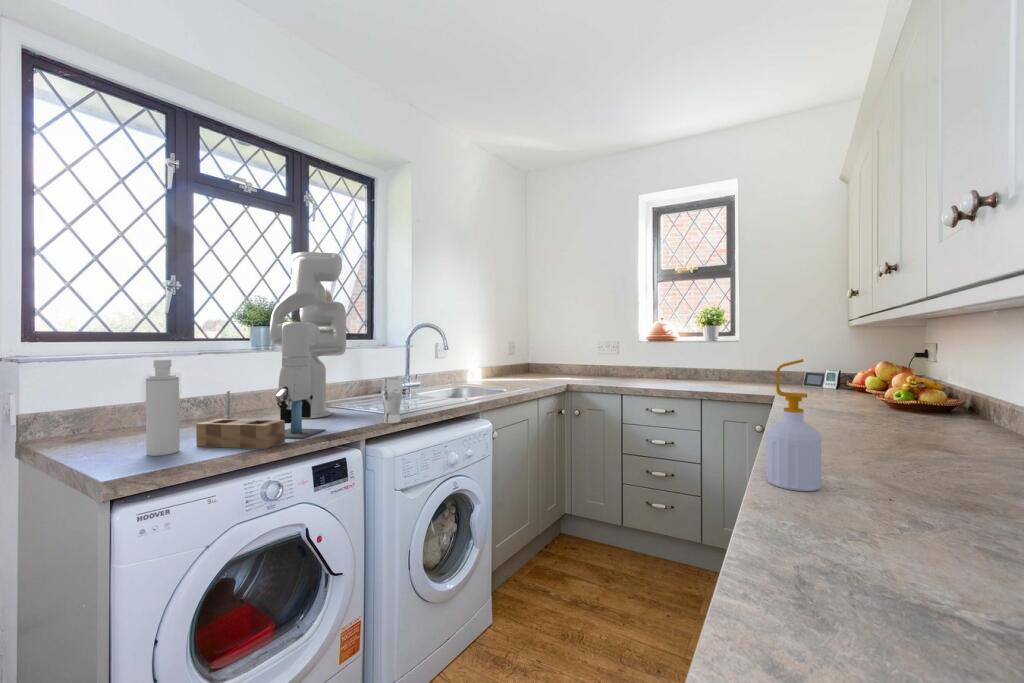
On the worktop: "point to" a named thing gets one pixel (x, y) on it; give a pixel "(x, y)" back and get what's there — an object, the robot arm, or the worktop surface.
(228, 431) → the hole block
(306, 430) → the mat
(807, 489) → the soap bottle
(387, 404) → the beer glass
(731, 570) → the worktop surface
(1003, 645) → the worktop surface
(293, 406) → the pin
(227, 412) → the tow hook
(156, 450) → the white capped bottle
